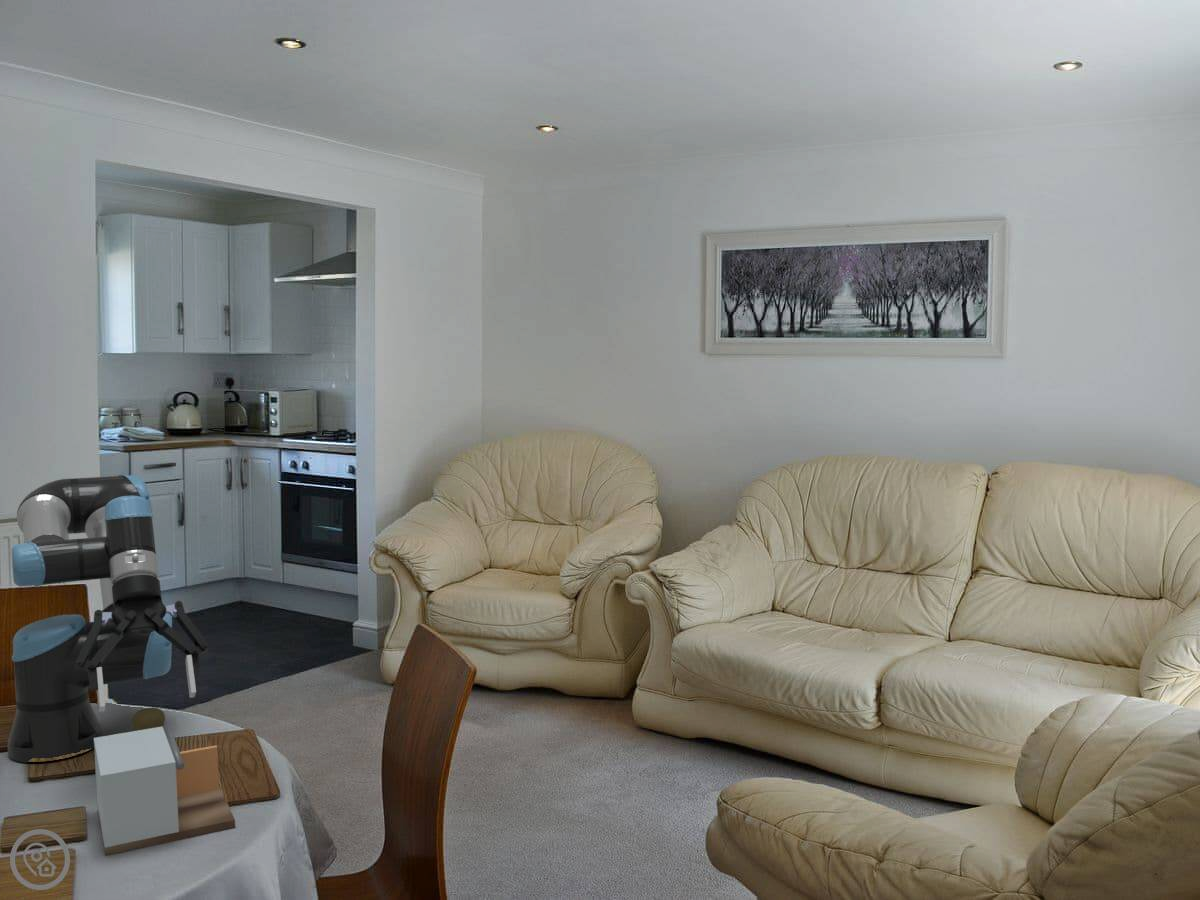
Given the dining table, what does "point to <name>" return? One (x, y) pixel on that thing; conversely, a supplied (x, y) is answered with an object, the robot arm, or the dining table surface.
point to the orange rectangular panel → (198, 772)
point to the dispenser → (137, 784)
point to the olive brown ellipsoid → (148, 719)
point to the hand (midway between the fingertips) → (148, 702)
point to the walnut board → (189, 820)
